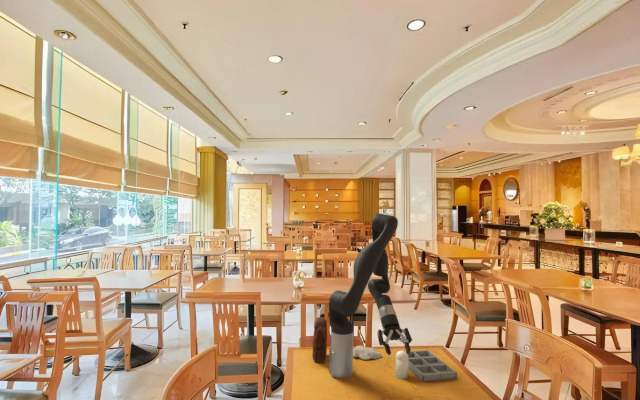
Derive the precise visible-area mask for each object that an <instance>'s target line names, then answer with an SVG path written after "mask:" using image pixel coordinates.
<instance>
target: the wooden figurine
mask: <svg viewBox="0 0 640 400" xmlns="http://www.w3.org/2000/svg"><path fill="white" fill-rule="evenodd" d="M313 323H314V324H313V335H312V336H313V337H312V360H313V362H314V363H316V364H317V363H324V362H326V360H327V349H328V348H327V347H328V344H327V343H328V341H327V340H328V324H327V320H326V318H325V317H323V316H322V317H321V316H320V317H316V318H315V320H314V322H313Z"/></svg>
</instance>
